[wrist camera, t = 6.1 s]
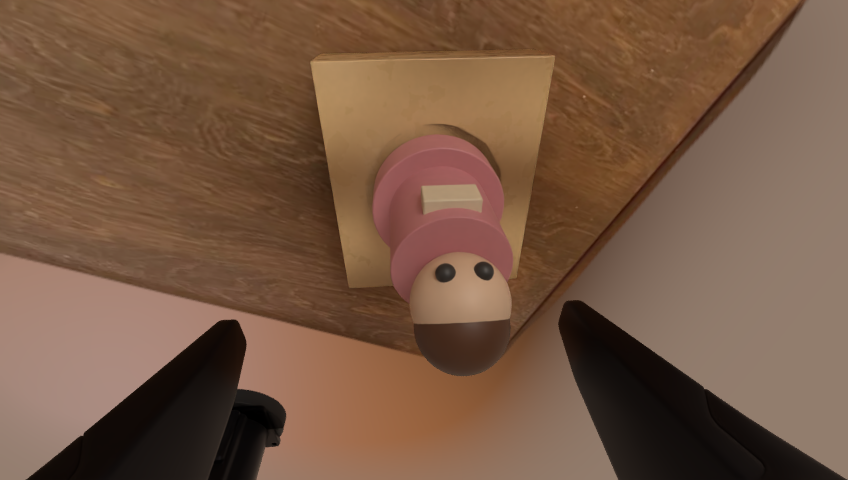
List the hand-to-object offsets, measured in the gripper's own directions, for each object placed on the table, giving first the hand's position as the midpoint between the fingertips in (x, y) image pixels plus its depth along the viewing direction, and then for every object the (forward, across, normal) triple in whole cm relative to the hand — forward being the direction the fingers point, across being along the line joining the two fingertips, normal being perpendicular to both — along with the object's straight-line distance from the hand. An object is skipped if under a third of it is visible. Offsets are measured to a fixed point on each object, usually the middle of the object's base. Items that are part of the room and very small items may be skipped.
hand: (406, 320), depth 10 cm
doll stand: (+12, -2, +1) cm, 12 cm away
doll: (+9, -2, +1) cm, 9 cm away
